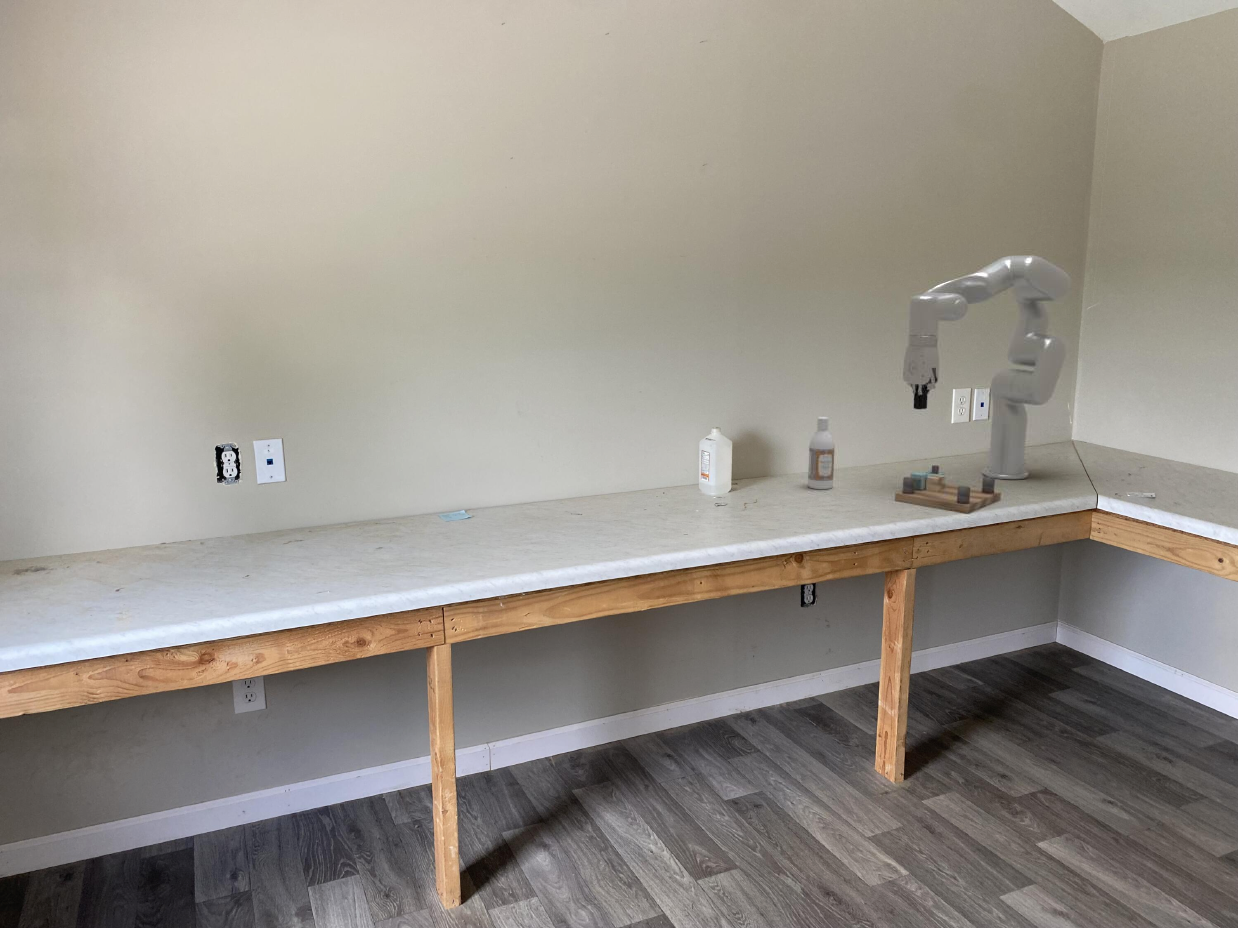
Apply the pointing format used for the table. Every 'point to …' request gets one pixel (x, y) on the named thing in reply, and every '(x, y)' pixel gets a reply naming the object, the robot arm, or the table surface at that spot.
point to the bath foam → (821, 457)
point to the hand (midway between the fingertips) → (920, 408)
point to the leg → (922, 479)
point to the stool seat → (948, 493)
